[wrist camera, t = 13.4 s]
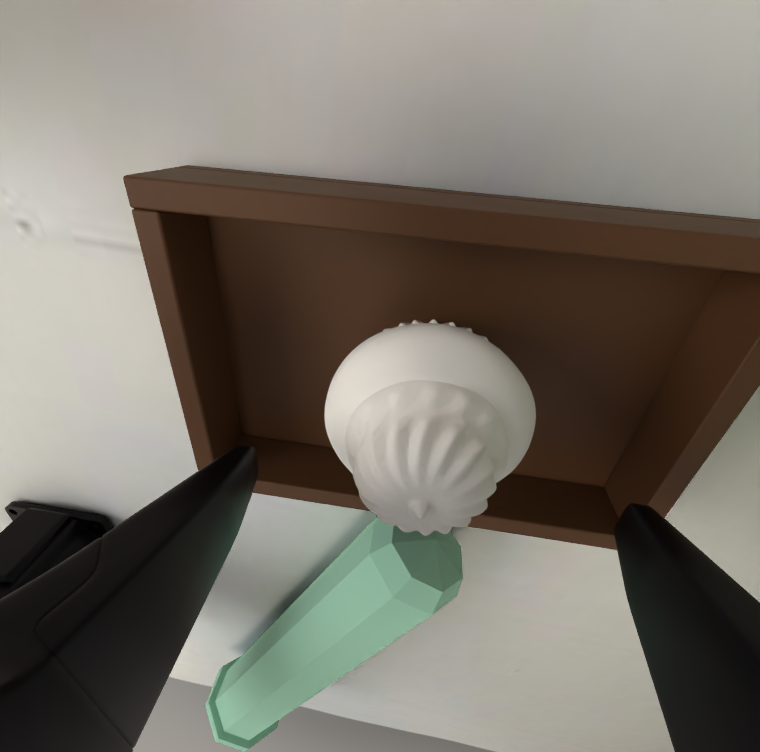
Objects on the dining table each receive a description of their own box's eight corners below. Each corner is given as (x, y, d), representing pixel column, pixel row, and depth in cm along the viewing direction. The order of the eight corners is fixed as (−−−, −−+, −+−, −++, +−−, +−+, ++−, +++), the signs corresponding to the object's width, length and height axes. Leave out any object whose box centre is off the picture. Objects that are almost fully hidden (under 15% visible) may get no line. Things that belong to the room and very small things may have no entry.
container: (396, 614, 14) (200, 760, 27) (509, 609, 17) (284, 743, 30) (365, 474, 18) (209, 657, 31) (460, 489, 21) (281, 651, 34)
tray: (610, 491, 18) (639, 554, 15) (233, 436, 19) (200, 485, 16) (765, 219, 11) (859, 248, 9) (186, 164, 13) (121, 175, 10)
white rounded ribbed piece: (505, 262, 12) (561, 384, 7) (523, 414, 15) (573, 592, 10) (324, 303, 14) (240, 431, 8) (373, 434, 17) (336, 597, 11)
